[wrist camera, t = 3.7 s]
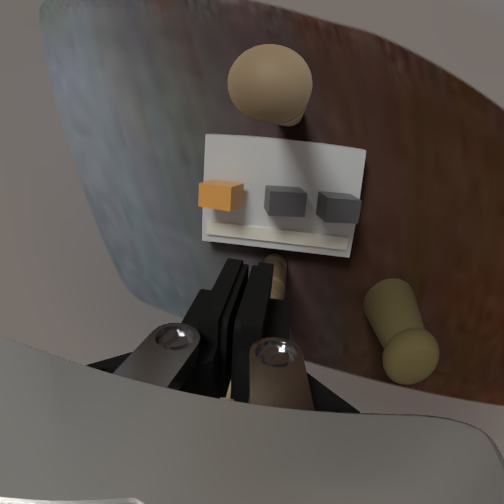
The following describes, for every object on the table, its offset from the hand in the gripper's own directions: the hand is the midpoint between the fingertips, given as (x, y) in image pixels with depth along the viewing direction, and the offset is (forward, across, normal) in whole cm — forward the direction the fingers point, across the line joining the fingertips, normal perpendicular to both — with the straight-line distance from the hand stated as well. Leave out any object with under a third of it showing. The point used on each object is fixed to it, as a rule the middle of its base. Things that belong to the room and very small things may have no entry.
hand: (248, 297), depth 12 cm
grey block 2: (+18, -5, 0) cm, 19 cm away
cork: (+20, -13, +11) cm, 26 cm away
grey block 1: (+18, 0, 0) cm, 18 cm away
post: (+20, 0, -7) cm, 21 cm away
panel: (+20, 0, 0) cm, 20 cm away
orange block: (+18, +4, 0) cm, 18 cm away
